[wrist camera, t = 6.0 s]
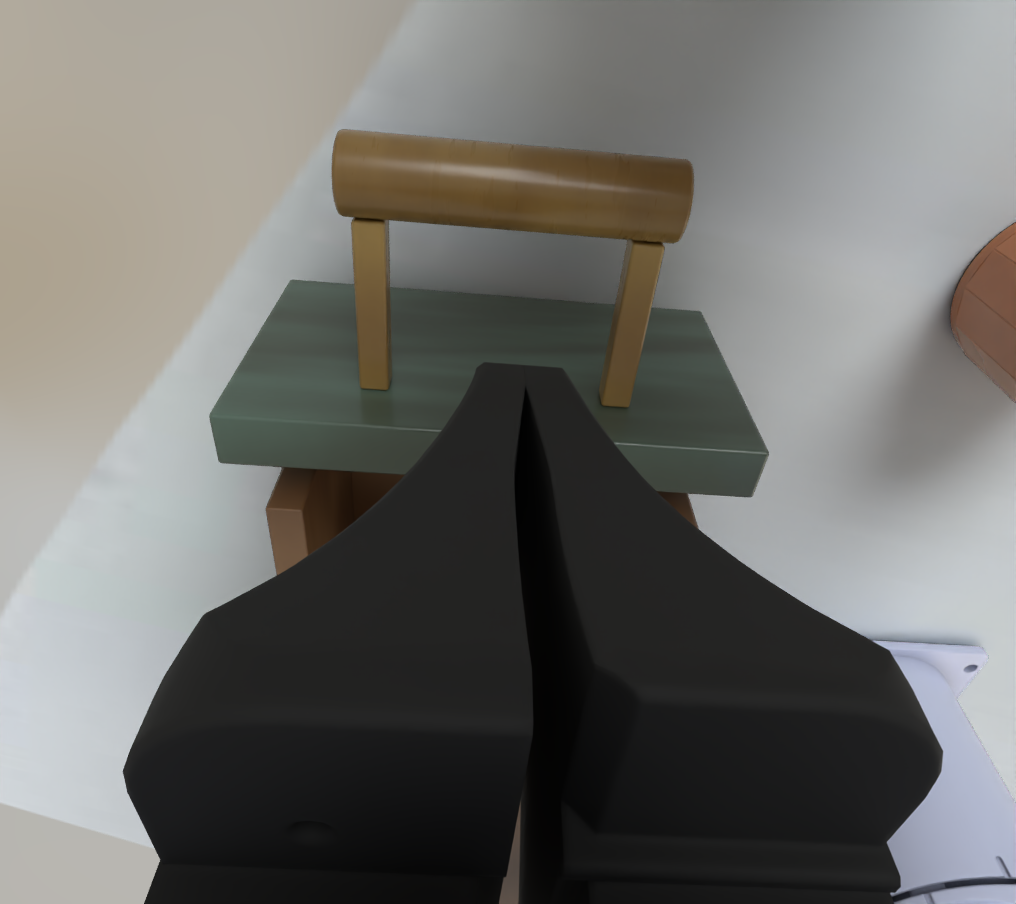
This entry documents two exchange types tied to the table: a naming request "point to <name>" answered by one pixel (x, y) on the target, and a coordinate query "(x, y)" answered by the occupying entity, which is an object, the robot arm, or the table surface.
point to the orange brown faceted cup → (990, 311)
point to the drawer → (479, 335)
